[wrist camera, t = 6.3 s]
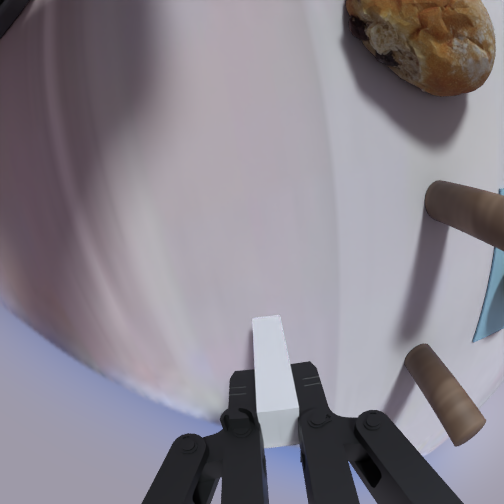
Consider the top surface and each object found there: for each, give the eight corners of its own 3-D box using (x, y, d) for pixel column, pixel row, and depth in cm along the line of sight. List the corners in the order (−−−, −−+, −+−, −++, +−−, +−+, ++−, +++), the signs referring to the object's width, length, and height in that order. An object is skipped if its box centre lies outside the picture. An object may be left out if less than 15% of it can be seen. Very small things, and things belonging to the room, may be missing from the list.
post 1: (424, 180, 14) (540, 212, 6) (453, 180, 14) (560, 210, 6) (424, 221, 15) (529, 276, 7) (452, 218, 15) (552, 266, 7)
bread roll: (432, 107, 16) (522, 108, 9) (347, 89, 12) (489, 67, 5) (405, 4, 13) (482, -13, 6) (311, -42, 9) (406, -92, 2)
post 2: (407, 348, 18) (463, 430, 10) (433, 340, 18) (491, 413, 10) (401, 371, 19) (448, 451, 11) (426, 363, 19) (476, 436, 11)
